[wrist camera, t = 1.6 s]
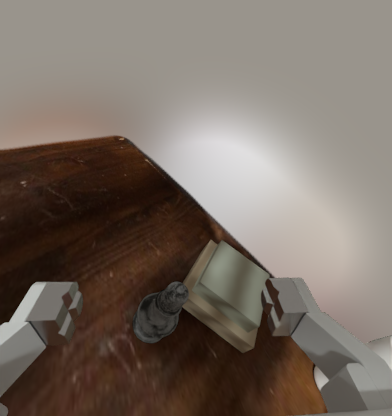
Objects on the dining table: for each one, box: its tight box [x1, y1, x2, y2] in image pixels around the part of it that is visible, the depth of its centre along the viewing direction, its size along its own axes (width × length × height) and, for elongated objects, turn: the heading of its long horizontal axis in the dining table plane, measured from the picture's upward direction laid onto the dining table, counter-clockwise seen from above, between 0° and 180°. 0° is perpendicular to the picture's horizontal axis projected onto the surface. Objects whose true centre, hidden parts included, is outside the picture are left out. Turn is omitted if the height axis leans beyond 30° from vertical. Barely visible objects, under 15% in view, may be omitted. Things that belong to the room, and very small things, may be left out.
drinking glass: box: [314, 335, 392, 390], centre depth 34 cm, size 7×7×15 cm
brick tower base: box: [182, 240, 269, 353], centre depth 40 cm, size 14×14×6 cm
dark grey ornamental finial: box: [133, 282, 189, 343], centre depth 29 cm, size 6×6×12 cm
